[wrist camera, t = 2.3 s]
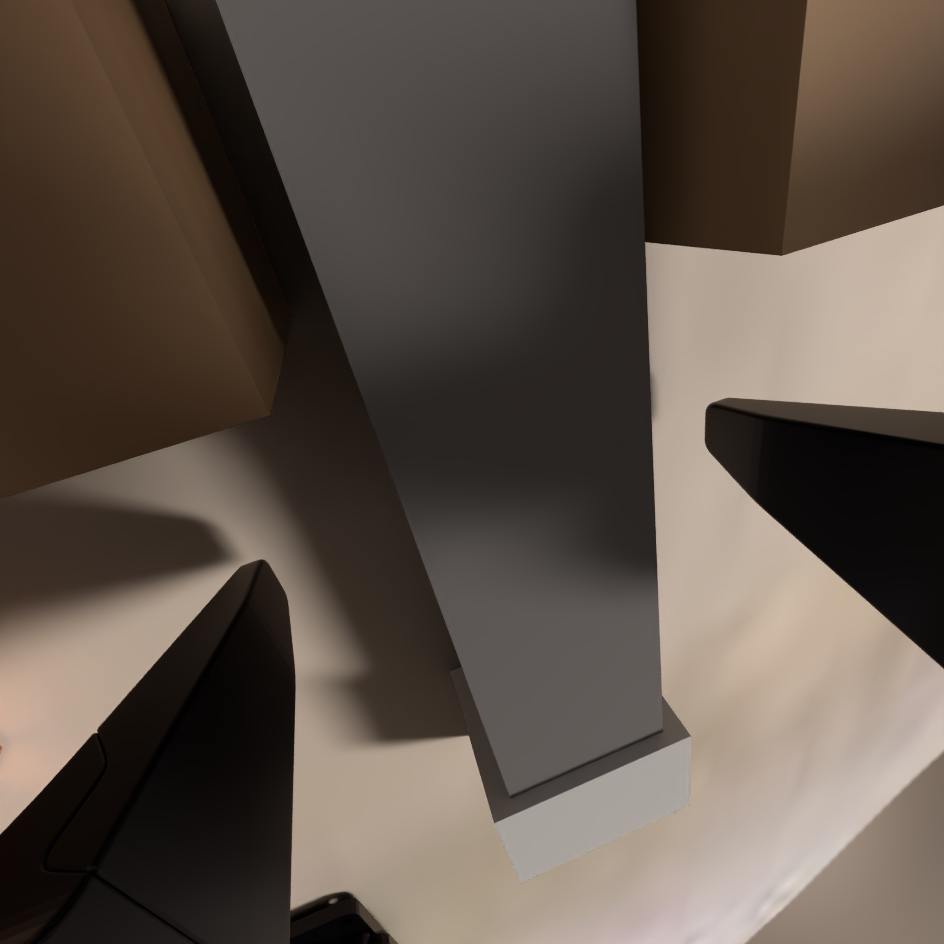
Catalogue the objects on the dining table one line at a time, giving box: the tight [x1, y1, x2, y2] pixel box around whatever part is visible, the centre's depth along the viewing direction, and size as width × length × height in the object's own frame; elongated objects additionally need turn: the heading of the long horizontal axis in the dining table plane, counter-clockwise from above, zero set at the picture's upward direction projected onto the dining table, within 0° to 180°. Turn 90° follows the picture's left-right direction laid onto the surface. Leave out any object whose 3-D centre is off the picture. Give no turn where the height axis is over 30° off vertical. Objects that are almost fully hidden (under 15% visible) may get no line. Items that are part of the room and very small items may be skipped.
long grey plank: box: [216, 0, 691, 884], centre depth 8 cm, size 20×4×4 cm, turn 14°
